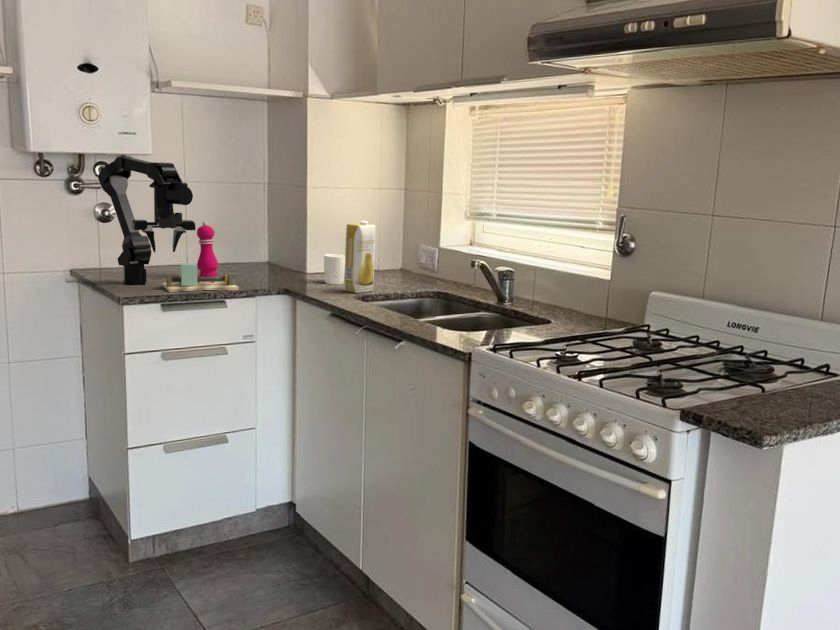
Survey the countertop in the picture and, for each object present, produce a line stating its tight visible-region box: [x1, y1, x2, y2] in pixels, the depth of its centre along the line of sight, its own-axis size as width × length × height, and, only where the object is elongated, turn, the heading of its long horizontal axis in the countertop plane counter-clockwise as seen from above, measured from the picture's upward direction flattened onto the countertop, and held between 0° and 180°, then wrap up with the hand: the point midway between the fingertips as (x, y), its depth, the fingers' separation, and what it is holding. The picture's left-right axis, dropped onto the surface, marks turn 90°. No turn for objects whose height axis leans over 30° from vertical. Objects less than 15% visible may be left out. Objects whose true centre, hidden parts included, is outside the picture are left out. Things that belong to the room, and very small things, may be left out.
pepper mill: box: [196, 220, 219, 277], centre depth 279 cm, size 7×7×20 cm
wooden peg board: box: [162, 272, 240, 293], centre depth 260 cm, size 22×12×5 cm, turn 117°
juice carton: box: [343, 220, 376, 294], centre depth 268 cm, size 9×8×24 cm
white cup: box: [323, 253, 345, 285], centre depth 284 cm, size 8×8×10 cm
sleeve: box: [178, 262, 198, 286], centre depth 258 cm, size 5×4×7 cm
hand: (164, 252), depth 253 cm, fingers open, 6 cm apart
